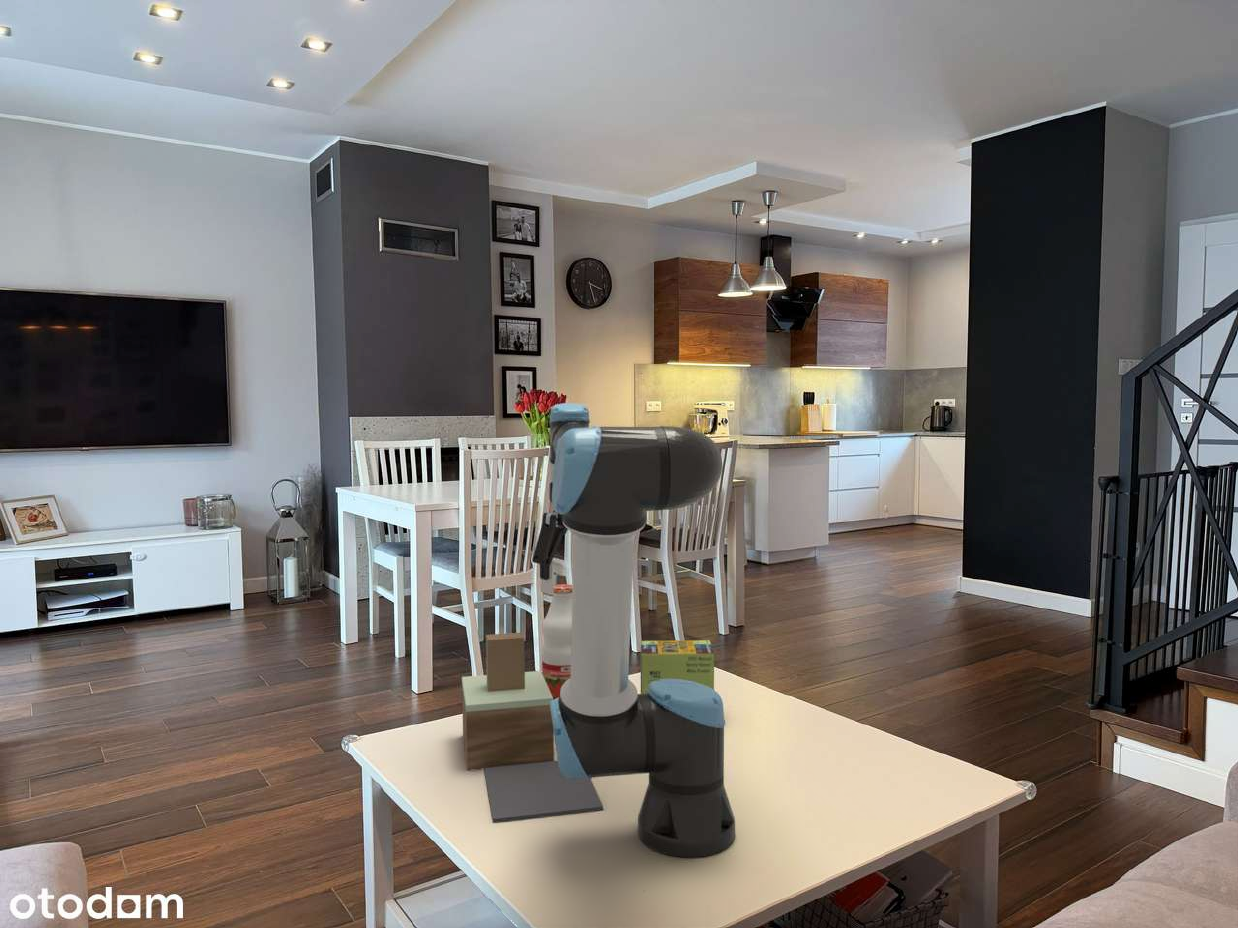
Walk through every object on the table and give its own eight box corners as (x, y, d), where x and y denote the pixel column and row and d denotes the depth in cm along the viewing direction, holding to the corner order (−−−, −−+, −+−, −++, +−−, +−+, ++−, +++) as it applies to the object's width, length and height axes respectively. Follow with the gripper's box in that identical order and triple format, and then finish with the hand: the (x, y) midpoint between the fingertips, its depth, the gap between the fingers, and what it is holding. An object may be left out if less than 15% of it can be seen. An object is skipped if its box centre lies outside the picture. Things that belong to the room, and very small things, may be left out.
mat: (603, 809, 140) (603, 806, 140) (493, 822, 136) (493, 818, 136) (581, 761, 160) (581, 758, 160) (484, 770, 156) (484, 767, 156)
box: (553, 761, 160) (553, 704, 159) (467, 770, 156) (466, 711, 155) (541, 728, 176) (540, 676, 175) (463, 735, 173) (462, 682, 172)
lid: (553, 704, 159) (552, 645, 158) (466, 711, 155) (465, 651, 155) (540, 676, 175) (540, 622, 175) (462, 682, 172) (460, 628, 171)
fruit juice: (585, 705, 190) (584, 581, 188) (586, 720, 180) (585, 590, 179) (542, 706, 189) (541, 582, 187) (542, 722, 180) (540, 591, 178)
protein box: (715, 726, 177) (715, 653, 176) (640, 726, 177) (640, 653, 176) (710, 708, 187) (710, 639, 186) (640, 709, 187) (639, 639, 186)
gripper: (588, 463, 179) (585, 556, 186) (513, 494, 159) (514, 598, 165) (618, 470, 176) (615, 565, 182) (546, 503, 155) (545, 608, 162)
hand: (567, 580), depth 174 cm, fingers open, 13 cm apart
